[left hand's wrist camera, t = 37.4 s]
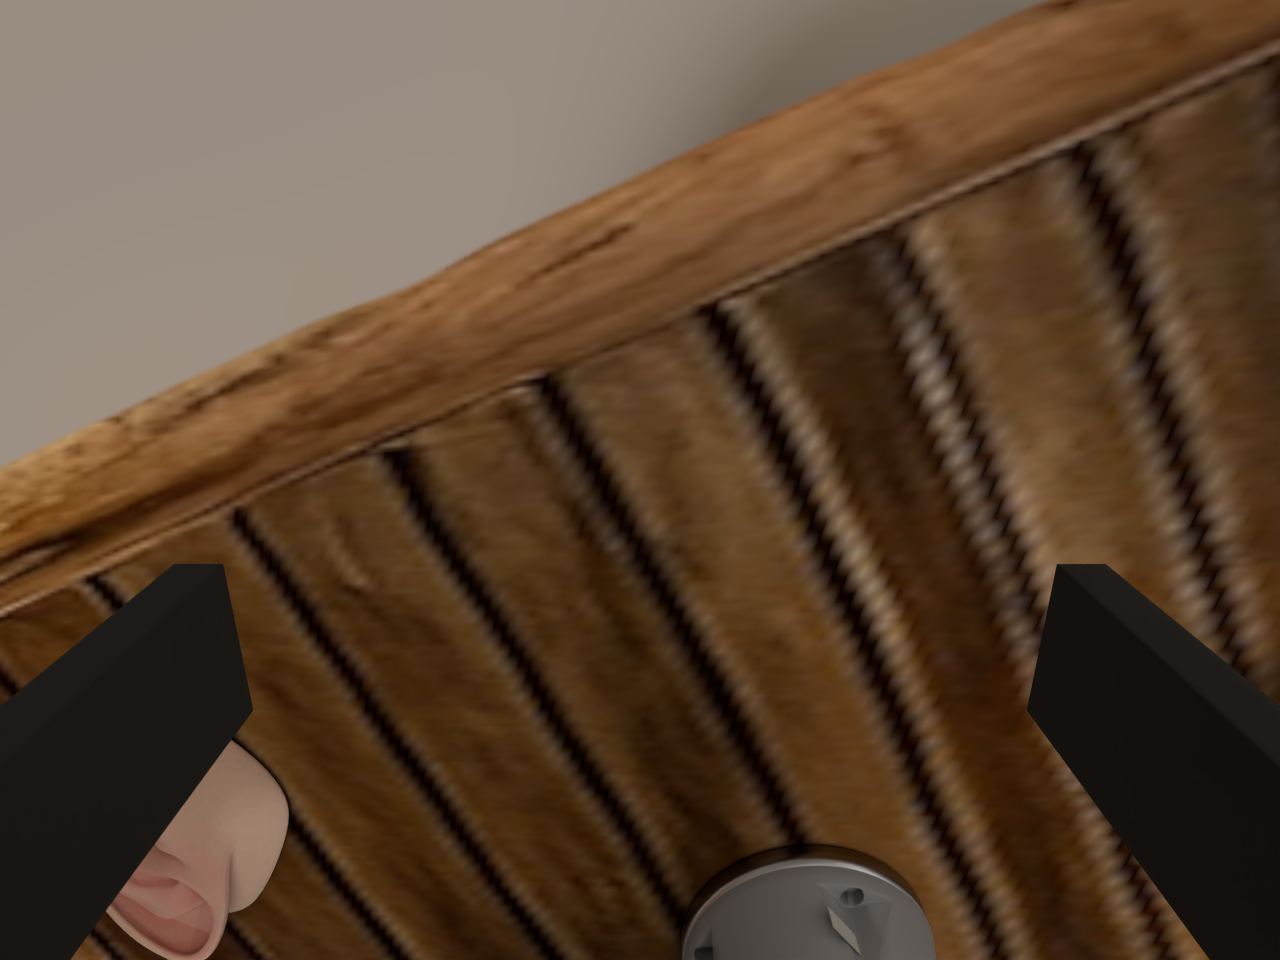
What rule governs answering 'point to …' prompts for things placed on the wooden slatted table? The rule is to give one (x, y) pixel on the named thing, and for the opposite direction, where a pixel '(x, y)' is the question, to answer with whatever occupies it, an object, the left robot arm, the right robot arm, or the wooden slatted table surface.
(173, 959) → the anatomical model
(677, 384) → the wooden slatted table surface
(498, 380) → the wooden slatted table surface
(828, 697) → the wooden slatted table surface
